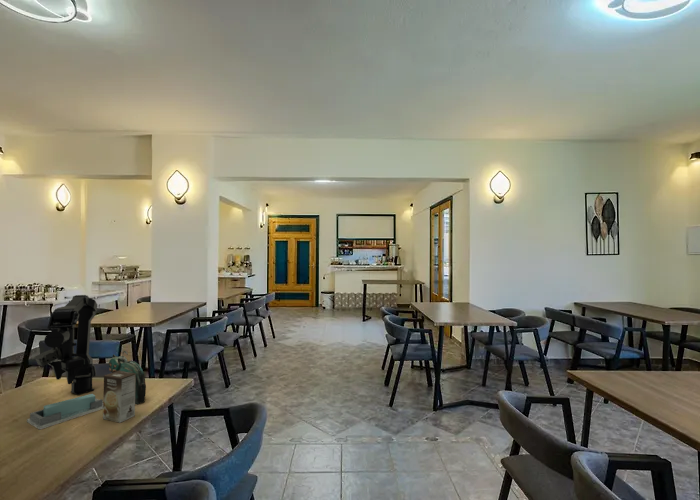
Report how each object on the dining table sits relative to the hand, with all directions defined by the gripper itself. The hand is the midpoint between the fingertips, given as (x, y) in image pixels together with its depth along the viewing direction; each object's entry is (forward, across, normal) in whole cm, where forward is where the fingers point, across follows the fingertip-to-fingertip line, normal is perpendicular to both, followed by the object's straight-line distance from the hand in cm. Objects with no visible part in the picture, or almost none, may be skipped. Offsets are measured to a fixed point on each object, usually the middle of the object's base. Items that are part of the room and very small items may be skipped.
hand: (64, 381), depth 136 cm
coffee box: (+12, +23, +8) cm, 27 cm away
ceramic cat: (+12, +8, +19) cm, 24 cm away
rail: (+11, +4, 0) cm, 11 cm away
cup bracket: (+12, +4, 0) cm, 12 cm away
